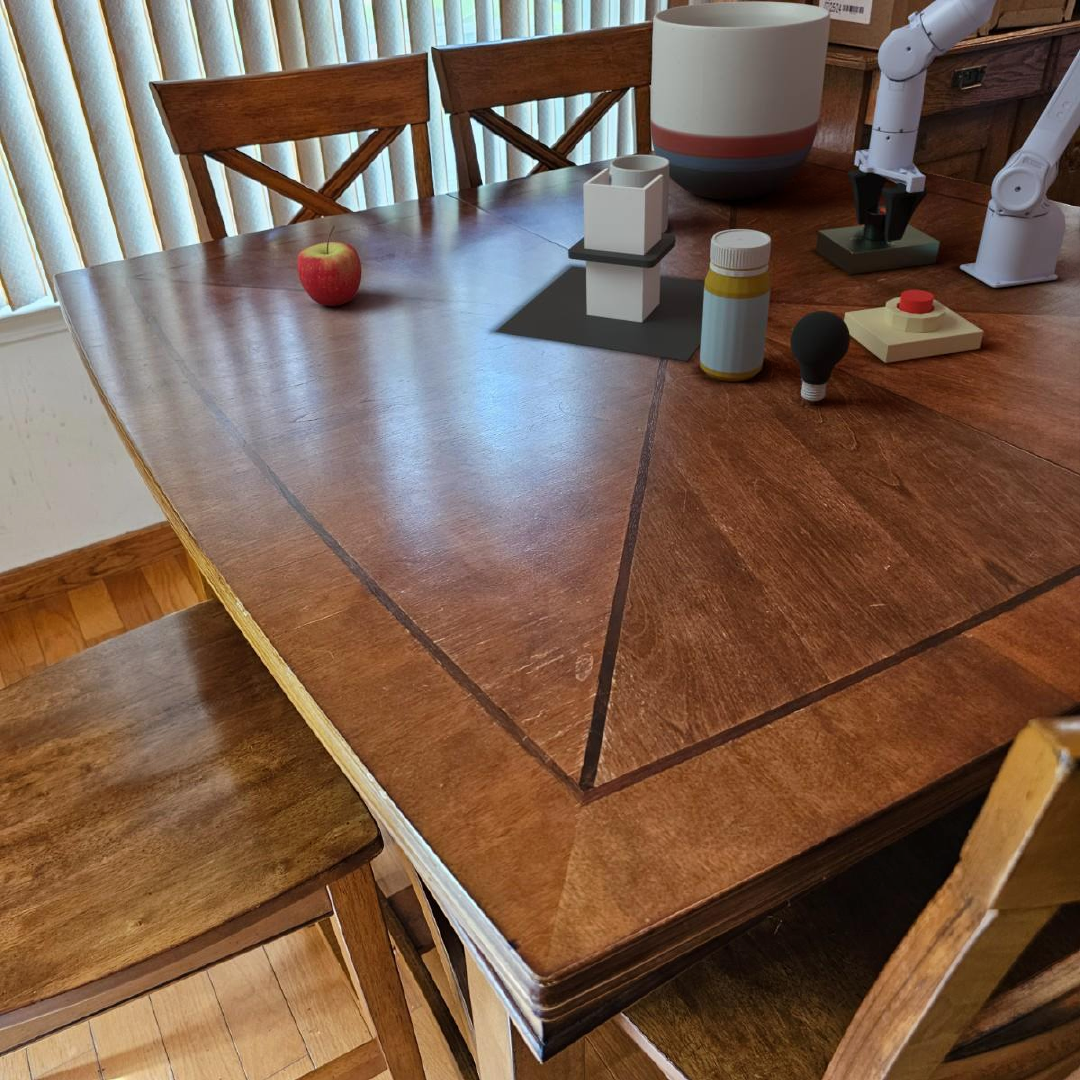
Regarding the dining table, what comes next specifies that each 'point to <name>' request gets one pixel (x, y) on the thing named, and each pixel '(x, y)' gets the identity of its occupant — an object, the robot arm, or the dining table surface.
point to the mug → (642, 176)
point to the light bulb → (818, 350)
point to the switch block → (912, 332)
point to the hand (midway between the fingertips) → (878, 231)
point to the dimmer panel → (875, 250)
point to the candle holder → (618, 281)
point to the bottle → (736, 305)
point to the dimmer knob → (875, 223)
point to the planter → (737, 93)
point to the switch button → (916, 301)
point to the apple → (330, 272)
